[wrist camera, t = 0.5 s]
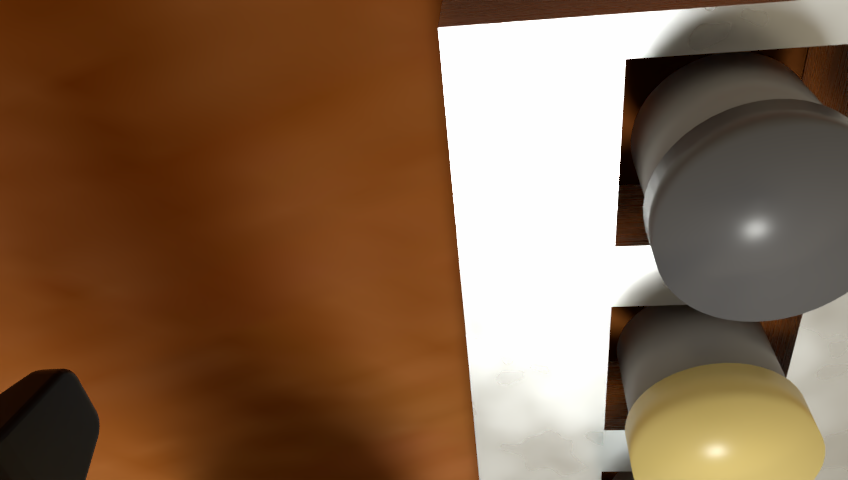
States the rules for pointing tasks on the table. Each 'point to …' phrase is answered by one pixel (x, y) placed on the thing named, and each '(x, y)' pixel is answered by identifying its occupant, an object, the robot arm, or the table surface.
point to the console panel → (593, 215)
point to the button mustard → (711, 401)
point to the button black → (744, 188)
